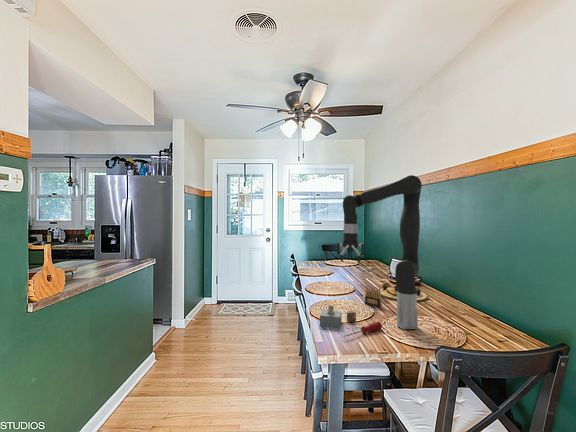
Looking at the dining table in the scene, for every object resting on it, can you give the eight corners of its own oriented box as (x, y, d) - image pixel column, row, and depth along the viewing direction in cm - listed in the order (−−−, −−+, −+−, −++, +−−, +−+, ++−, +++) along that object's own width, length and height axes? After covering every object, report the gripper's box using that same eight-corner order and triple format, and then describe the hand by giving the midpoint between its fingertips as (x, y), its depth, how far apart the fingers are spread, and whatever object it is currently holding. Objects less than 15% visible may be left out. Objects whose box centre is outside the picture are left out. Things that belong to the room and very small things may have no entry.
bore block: (341, 320, 156) (341, 311, 156) (340, 327, 147) (340, 317, 147) (322, 319, 159) (322, 309, 159) (319, 325, 149) (319, 315, 149)
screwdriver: (340, 339, 133) (341, 331, 133) (376, 327, 147) (376, 320, 147) (346, 341, 130) (346, 333, 130) (382, 329, 144) (382, 322, 144)
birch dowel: (333, 322, 154) (333, 304, 154) (333, 324, 151) (333, 306, 151) (328, 322, 154) (328, 304, 154) (327, 323, 152) (328, 305, 152)
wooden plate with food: (369, 292, 217) (369, 281, 217) (401, 288, 230) (402, 277, 230) (402, 305, 188) (402, 292, 188) (437, 300, 201) (438, 287, 201)
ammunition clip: (381, 307, 182) (381, 287, 182) (380, 307, 180) (380, 287, 181) (366, 303, 190) (366, 284, 190) (364, 303, 188) (364, 284, 188)
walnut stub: (356, 319, 158) (356, 311, 158) (355, 322, 154) (355, 314, 154) (346, 319, 159) (346, 310, 159) (346, 322, 155) (346, 313, 155)
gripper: (364, 232, 163) (363, 261, 163) (337, 231, 167) (337, 260, 167) (364, 232, 156) (363, 263, 156) (336, 232, 160) (336, 262, 159)
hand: (350, 262), depth 161 cm, fingers open, 8 cm apart
